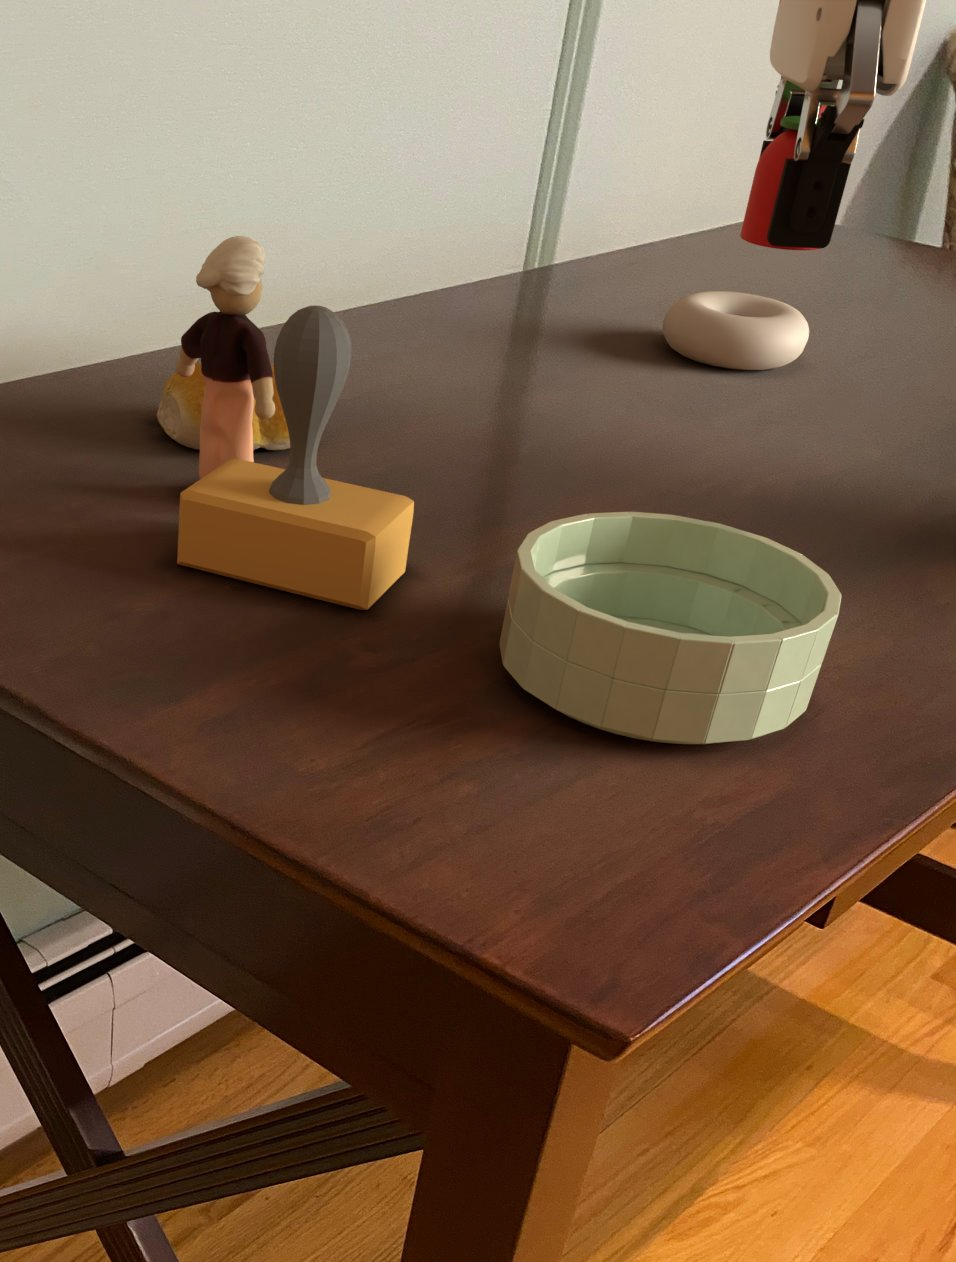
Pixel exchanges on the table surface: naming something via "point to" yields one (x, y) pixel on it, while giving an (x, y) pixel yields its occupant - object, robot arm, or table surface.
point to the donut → (735, 330)
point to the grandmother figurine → (229, 354)
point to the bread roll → (185, 408)
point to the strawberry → (769, 185)
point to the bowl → (667, 626)
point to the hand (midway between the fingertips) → (786, 230)
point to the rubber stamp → (299, 493)
